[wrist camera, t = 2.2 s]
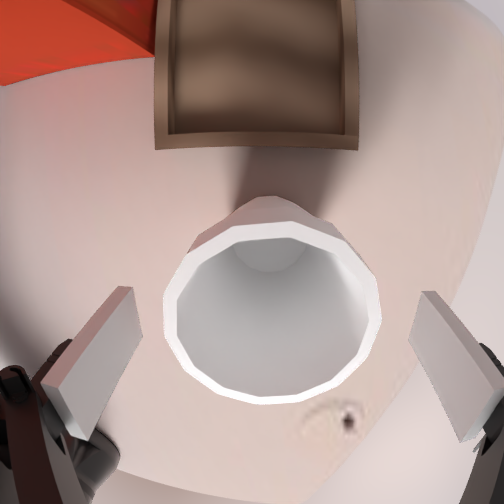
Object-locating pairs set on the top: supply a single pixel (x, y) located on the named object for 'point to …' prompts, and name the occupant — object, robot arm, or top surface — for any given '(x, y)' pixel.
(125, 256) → the top surface
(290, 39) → the square wooden tray
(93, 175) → the top surface
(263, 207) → the foam cup
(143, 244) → the top surface
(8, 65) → the file binder
